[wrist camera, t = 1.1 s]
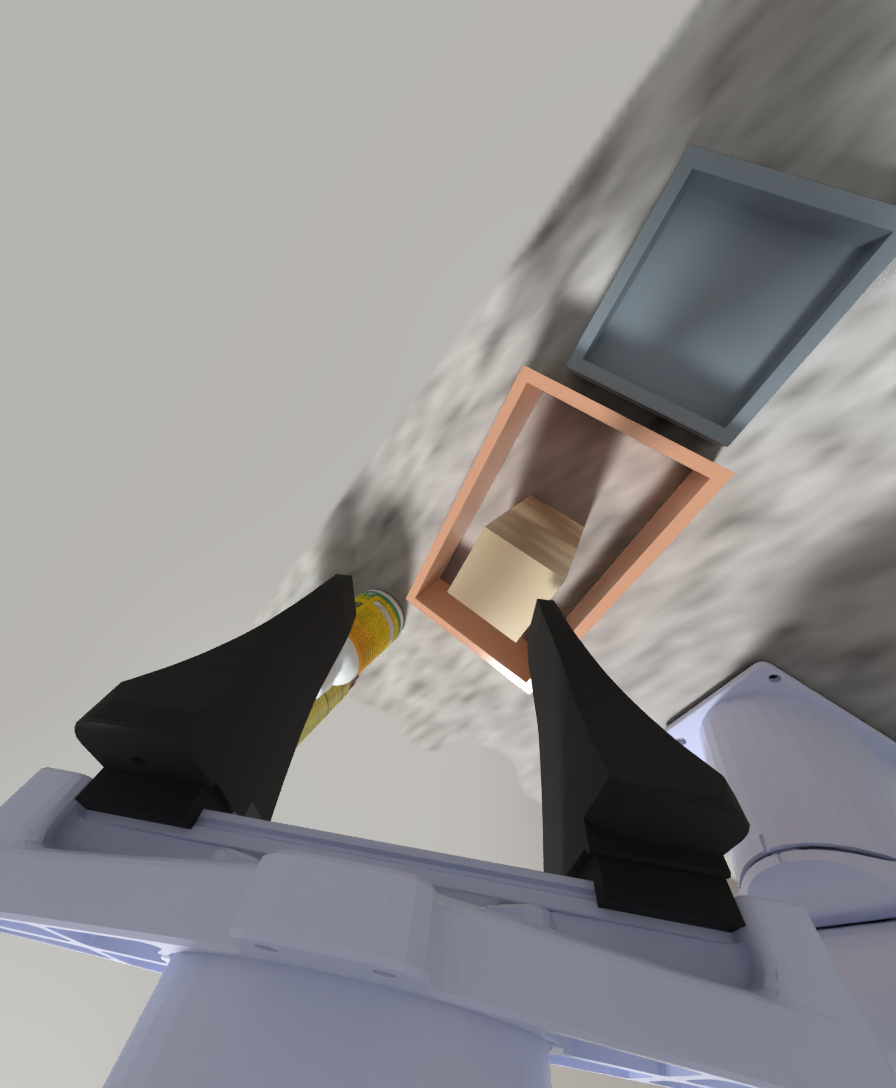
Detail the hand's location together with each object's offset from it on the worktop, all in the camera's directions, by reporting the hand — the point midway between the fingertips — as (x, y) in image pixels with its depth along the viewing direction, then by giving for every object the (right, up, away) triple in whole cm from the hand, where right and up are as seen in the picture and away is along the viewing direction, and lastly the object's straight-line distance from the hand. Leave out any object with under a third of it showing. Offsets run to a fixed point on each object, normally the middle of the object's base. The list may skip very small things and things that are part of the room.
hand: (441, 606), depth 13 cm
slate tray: (+13, +13, +3) cm, 19 cm away
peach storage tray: (+7, +3, +10) cm, 12 cm away
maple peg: (+7, +3, +10) cm, 12 cm away
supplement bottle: (-6, -4, +19) cm, 20 cm away
